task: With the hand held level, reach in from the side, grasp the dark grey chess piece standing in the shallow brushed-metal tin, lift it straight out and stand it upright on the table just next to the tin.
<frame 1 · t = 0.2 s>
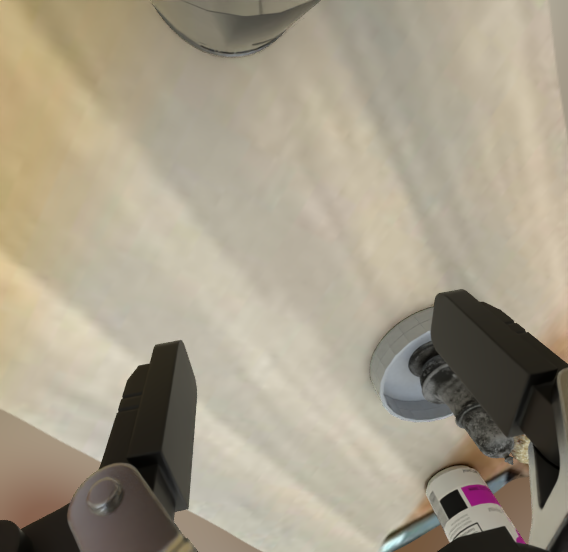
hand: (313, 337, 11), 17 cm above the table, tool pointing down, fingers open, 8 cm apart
tin: (430, 357, 37), on the table
cake: (527, 420, 47), on the table
supplement can: (448, 478, 51), on the table
dark grey chess piece: (430, 357, 37), resting on tin
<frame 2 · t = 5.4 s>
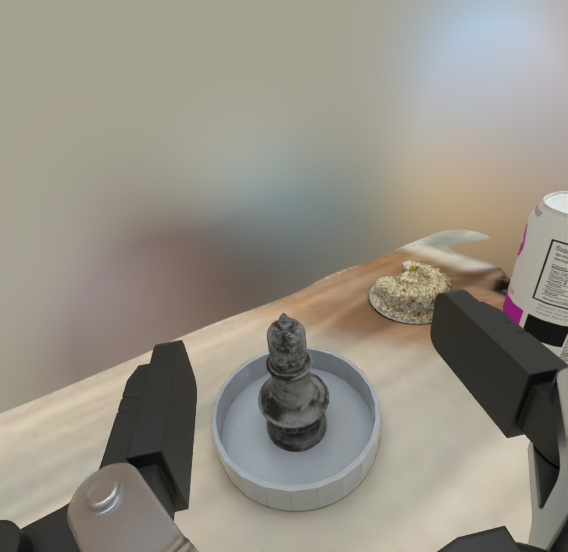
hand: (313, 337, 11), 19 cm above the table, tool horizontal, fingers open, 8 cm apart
tin: (296, 424, 30), on the table
cake: (408, 301, 44), on the table
supplement can: (540, 345, 35), on the table
dark grey chess piece: (296, 424, 30), resting on tin
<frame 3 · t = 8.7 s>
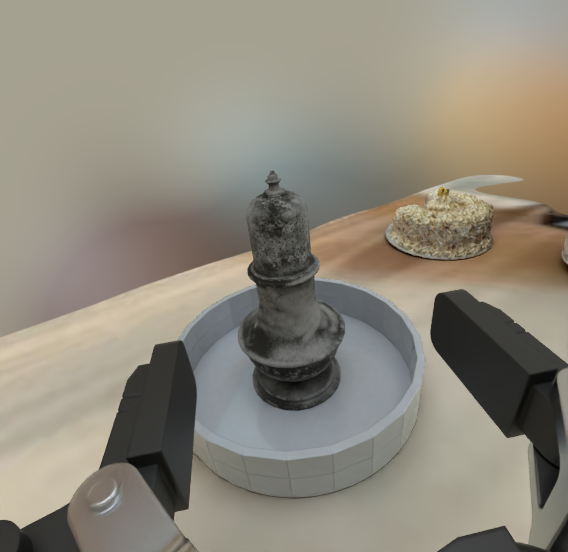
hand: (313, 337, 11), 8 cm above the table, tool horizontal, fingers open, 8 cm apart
tin: (296, 376, 21), on the table
cake: (436, 239, 35), on the table
dark grey chess piece: (296, 376, 21), resting on tin
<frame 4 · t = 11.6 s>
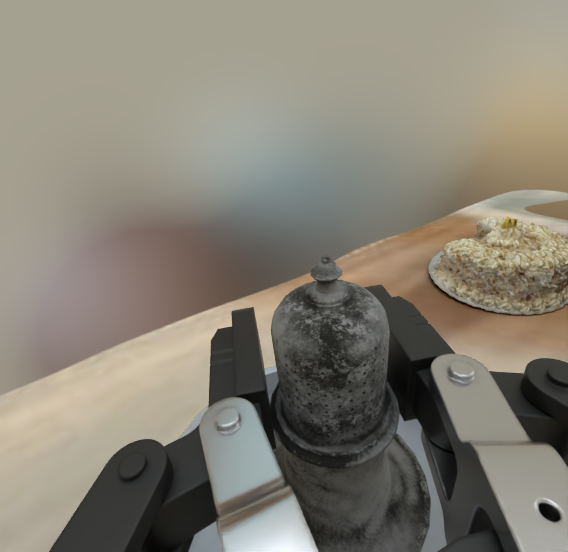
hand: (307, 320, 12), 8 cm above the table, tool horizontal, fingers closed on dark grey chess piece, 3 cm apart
tin: (338, 534, 13), on the table
cake: (494, 280, 27), on the table
dark grey chess piece: (338, 534, 13), resting on tin, touching gripper
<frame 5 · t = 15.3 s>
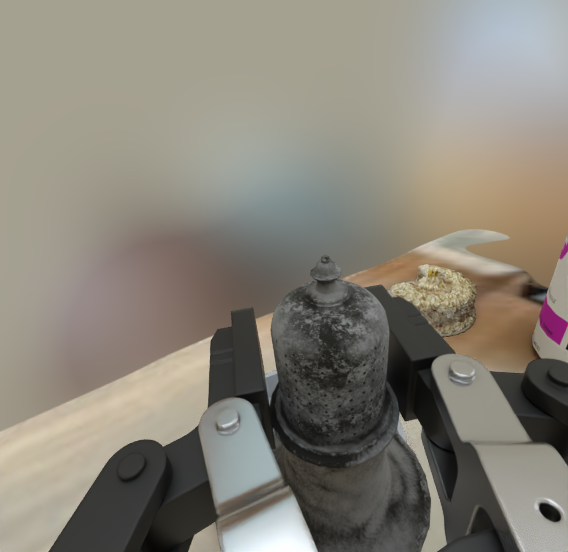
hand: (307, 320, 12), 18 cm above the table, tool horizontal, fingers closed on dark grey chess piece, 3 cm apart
tin: (307, 460, 26), on the table
cake: (427, 309, 40), on the table
dark grey chess piece: (339, 534, 13), point 9 cm above the table, touching gripper
when the fingers open (8 cm above the table, at t = 19.1 s): dark grey chess piece stays where it is, on the table.
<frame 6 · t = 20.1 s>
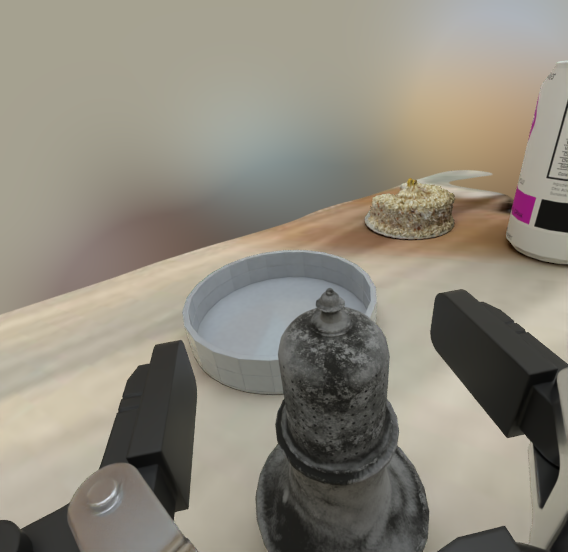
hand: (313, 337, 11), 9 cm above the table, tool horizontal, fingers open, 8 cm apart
tin: (282, 322, 26), on the table
cake: (407, 223, 41), on the table
supplement can: (555, 248, 32), on the table
dark grey chess piece: (340, 542, 14), on the table
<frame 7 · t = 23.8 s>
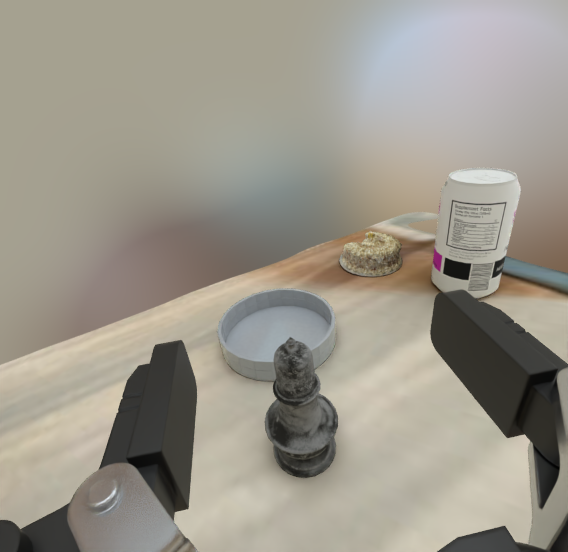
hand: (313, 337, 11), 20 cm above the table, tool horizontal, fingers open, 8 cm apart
tin: (278, 338, 42), on the table
cake: (370, 262, 56), on the table
supplement can: (462, 285, 47), on the table
dark grey chess piece: (304, 447, 29), on the table
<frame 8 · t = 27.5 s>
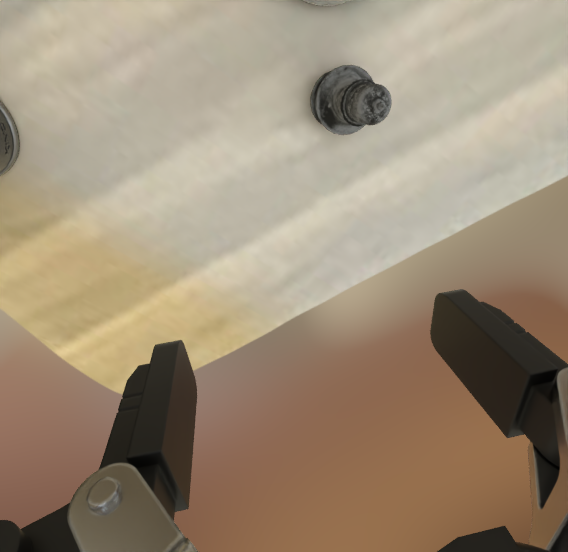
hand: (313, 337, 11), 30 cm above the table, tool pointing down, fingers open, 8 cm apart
dark grey chess piece: (335, 99, 35), on the table
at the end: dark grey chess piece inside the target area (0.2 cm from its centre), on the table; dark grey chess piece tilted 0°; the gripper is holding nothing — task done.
